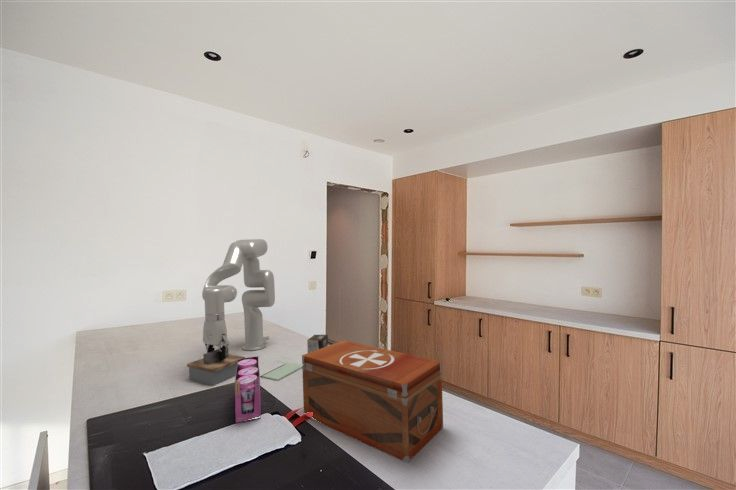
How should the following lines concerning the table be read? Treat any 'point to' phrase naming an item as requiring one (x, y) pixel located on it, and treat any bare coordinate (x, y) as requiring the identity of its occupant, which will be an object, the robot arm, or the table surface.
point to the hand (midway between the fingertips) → (216, 358)
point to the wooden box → (375, 396)
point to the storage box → (212, 375)
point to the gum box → (247, 389)
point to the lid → (214, 361)
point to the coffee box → (317, 342)
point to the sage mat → (282, 371)
